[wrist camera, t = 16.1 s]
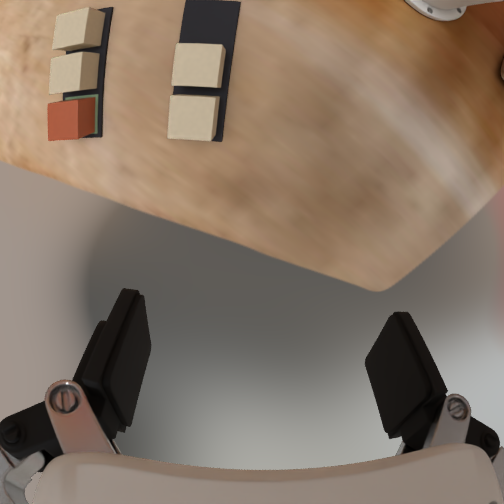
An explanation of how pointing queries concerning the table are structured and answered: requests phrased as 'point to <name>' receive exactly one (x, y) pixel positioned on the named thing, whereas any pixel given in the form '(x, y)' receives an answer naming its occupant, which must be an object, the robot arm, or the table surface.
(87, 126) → the rust orange cube
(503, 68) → the stone cup
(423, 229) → the table surface
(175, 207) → the table surface
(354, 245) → the table surface
